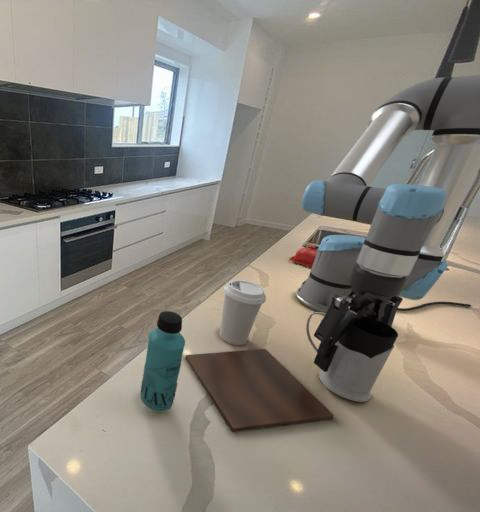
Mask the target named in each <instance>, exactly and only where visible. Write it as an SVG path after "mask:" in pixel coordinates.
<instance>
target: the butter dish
mask: <svg viewBox="0 0 480 512" xmlns="http://www.w3.org/2000/svg"><path fill="white" fill-rule="evenodd" d="M317 251H318V249H316V245H314V244H308V247H300V248H299V249H298V250H297V251H296V253H295V254H294V255H292V256H290V257H289V258H288V260H289V261H291V262H294V263H295V264H298V265H302V266H305V267H308V268H312V266H313V263H314V260H315V257H316V254H317Z"/></svg>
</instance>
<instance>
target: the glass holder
mask: <svg viewBox="0 0 480 512" xmlns="http://www.w3.org/2000/svg"><path fill="white" fill-rule="evenodd" d="M325 314H326V313H323V312H317V311H315V312H312V313H311V314H310V315H309V316H308V318H307V321H306V326H305V331H306V336H307V339H308V341H309V343H310V345H311V346H312V348H313V349H314V351H315V352H316V353H317V350H318V347H317V346H316V344H315V343H314V340H313V339H312V337H311V333H310V321H311V319H312V317H313V316H314V315H322V316H323V317H324V316H325ZM398 337H399V333H398V331H397V330H396V329H395V328H393V327H392V326H389V325H387V324H385V323H383V322H381V321H380V322H379V324H378V327H377V329H376V331H375V330H374V329H373V327H372V326H371V324H370V322H369V319H368V317H366V316H363V317H362V318H361V319H360V320H356V321H355V322H354V323H353V324H350V327H349V329H348V330H347V331H346V332H345V333H344V335H343V336H342V337H341V338H340V339H339V340H338V342H337V343H336V345H337V346H338V348H337V350H336V352H335V355H334V357H333V359H332V362H331V364H330V366H329V369H328V371H327V372H324V371H323V370H322V369H321V370H320V371H319V373H318V377H319V380H320V381H321V383H322V384H323V385H324V386H325V388H327V389H329V390H330V391H331V392H332V393H334V394H335V395H338V396H340V397H341V398H344V399H346V400H350V401H353V402H358V403H363V402H368V401H369V400H370V399H371V396H372V395H371V391H372V389H373V388H374V387H373V386H374V385H375V383H376V381H377V379H378V377H379V375H380V373H381V372H382V369H383V368H384V366H385V364H386V362H387V361H388V359H389V357H390V355H391V353H392V352H393V349H394V348H395V343H396V340H398Z"/></svg>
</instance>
